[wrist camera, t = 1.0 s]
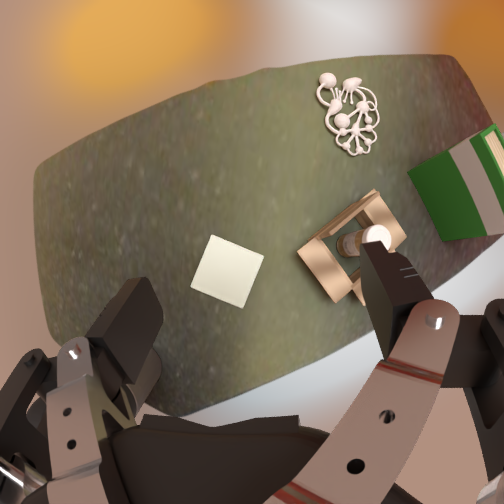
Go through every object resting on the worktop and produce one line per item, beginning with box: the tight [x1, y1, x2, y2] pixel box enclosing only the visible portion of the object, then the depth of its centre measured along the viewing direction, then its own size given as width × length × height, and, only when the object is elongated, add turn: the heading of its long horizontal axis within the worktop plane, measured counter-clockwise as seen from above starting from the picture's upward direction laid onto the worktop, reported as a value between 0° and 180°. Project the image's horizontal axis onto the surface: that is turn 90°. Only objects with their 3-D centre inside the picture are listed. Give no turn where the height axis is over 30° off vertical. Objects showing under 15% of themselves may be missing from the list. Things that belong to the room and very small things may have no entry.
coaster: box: [190, 235, 264, 308], centre depth 52 cm, size 10×10×1 cm
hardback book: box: [407, 124, 504, 241], centre depth 45 cm, size 18×7×24 cm, turn 31°
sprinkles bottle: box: [337, 225, 391, 258], centre depth 48 cm, size 5×5×14 cm
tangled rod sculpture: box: [317, 73, 380, 156], centre depth 55 cm, size 19×14×4 cm
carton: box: [297, 189, 407, 306], centre depth 49 cm, size 15×19×12 cm
